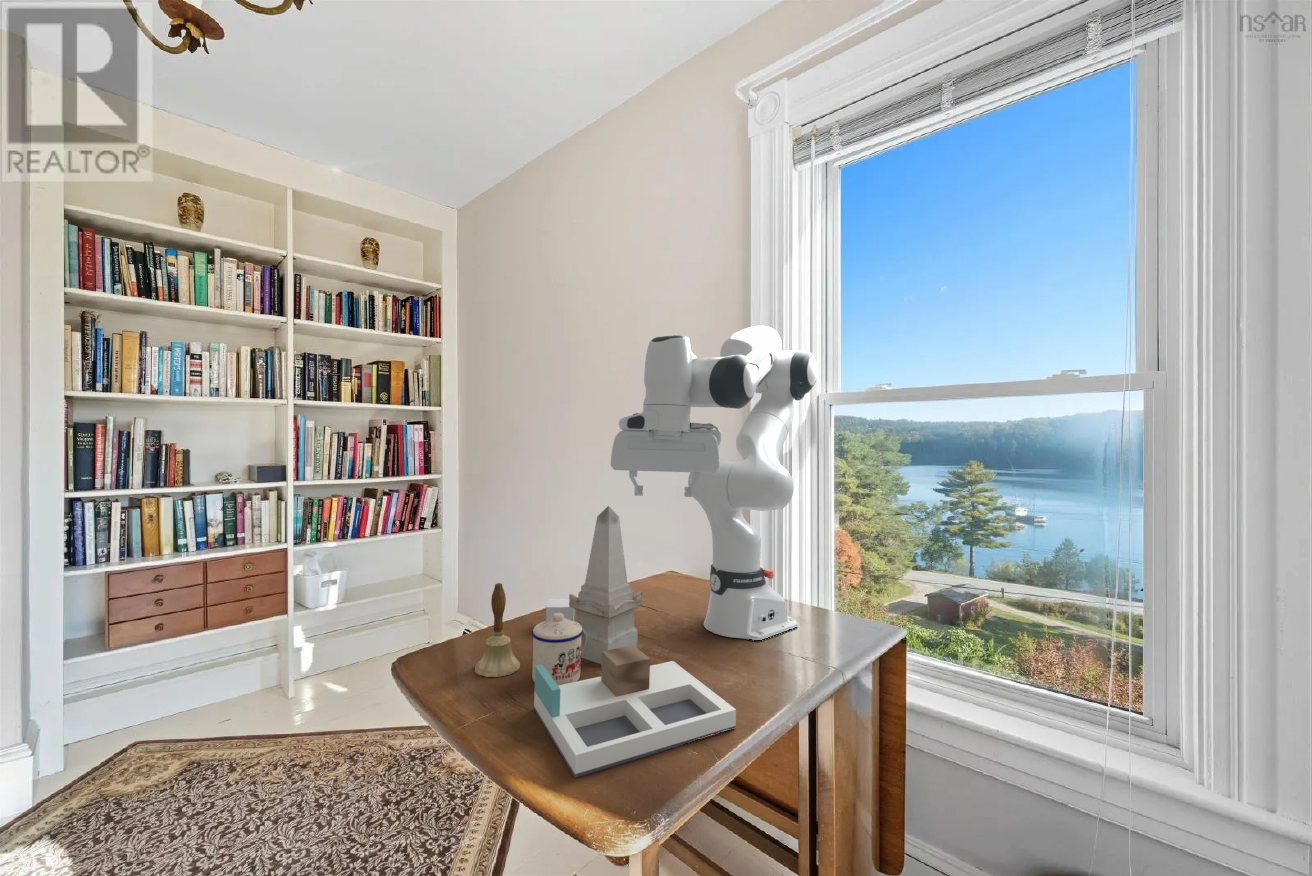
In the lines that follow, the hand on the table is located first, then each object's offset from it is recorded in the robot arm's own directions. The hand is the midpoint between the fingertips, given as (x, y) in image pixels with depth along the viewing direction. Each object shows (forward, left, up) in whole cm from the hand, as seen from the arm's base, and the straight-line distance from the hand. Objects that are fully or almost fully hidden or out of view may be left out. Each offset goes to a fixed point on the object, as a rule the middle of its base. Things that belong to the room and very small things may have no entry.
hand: (663, 496), depth 99 cm
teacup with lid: (+16, -8, -34) cm, 38 cm away
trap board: (+11, +11, -33) cm, 37 cm away
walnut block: (+10, +6, -30) cm, 33 cm away
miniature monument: (+5, -14, -34) cm, 37 cm away
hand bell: (+26, -16, -34) cm, 45 cm away
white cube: (+9, -30, -34) cm, 46 cm away
